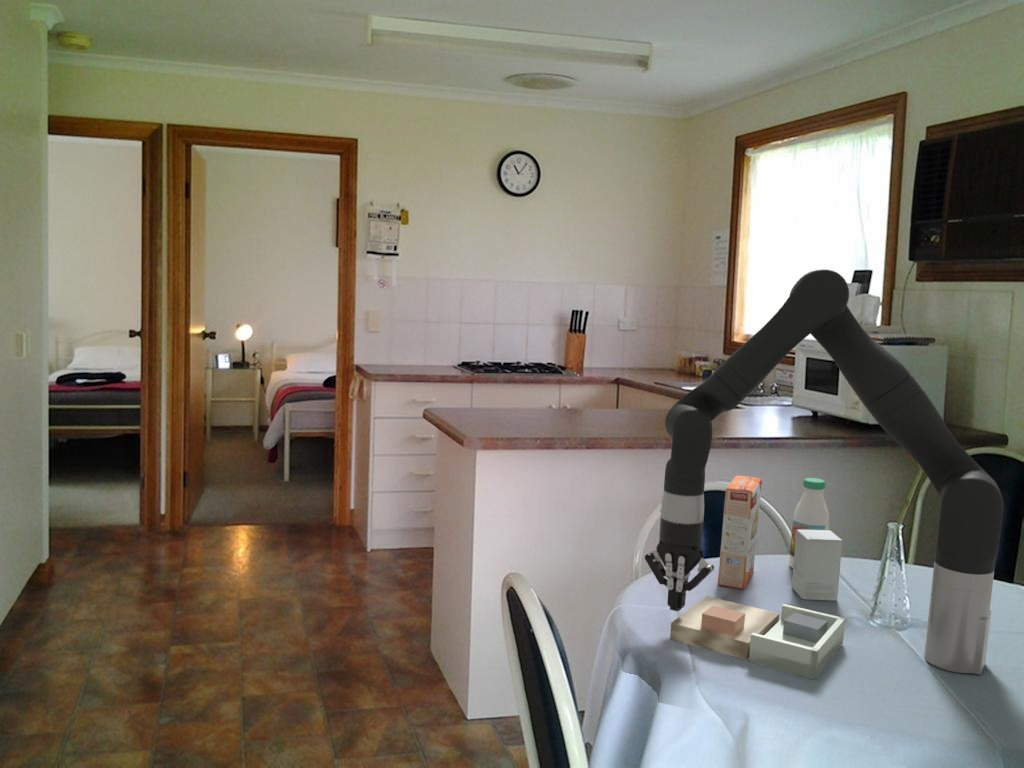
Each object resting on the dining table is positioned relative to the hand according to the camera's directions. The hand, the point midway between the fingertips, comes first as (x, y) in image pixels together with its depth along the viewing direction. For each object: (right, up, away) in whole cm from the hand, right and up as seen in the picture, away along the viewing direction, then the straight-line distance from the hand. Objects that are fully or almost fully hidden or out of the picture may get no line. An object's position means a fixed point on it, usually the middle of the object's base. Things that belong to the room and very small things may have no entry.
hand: (675, 609), depth 172 cm
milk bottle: (+36, 0, +40) cm, 53 cm away
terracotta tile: (+7, -2, -5) cm, 9 cm away
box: (+20, -6, -7) cm, 22 cm away
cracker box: (+18, -1, +31) cm, 36 cm away
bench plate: (+9, -4, 0) cm, 10 cm away
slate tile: (+22, -3, -4) cm, 23 cm away
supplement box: (+32, -3, +23) cm, 40 cm away
